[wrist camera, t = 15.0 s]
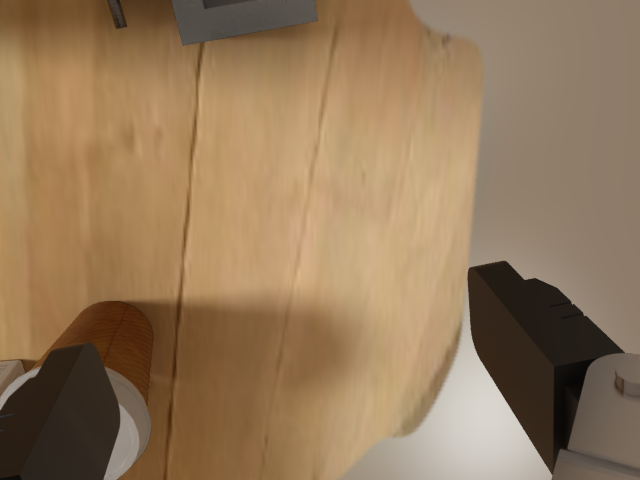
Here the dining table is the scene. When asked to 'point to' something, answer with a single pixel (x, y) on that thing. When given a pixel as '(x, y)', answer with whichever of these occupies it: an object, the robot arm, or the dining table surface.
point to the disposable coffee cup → (114, 372)
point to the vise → (229, 17)
